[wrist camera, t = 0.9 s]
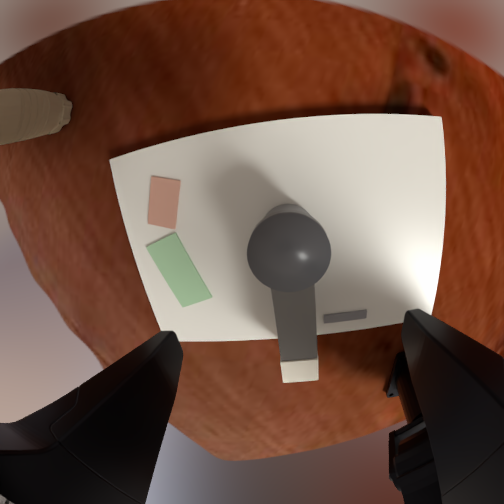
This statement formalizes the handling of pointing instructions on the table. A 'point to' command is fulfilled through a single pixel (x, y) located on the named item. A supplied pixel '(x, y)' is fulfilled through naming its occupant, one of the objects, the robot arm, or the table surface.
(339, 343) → the table surface
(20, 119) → the handle
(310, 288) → the grey round-headed bar
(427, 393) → the robot arm
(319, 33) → the table surface
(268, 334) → the board
